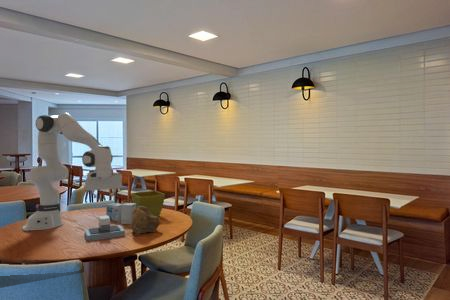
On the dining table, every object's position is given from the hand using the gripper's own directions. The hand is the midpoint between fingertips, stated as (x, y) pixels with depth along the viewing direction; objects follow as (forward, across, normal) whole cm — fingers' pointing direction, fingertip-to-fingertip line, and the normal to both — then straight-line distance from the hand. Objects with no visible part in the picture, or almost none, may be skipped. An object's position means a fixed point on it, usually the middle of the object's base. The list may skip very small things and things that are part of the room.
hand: (103, 197), depth 188 cm
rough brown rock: (+22, -23, +4) cm, 32 cm away
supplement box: (+22, -19, -22) cm, 37 cm away
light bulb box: (+23, -13, -36) cm, 44 cm away
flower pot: (+22, -35, -33) cm, 53 cm away
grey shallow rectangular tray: (+22, 0, 0) cm, 22 cm away
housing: (+19, 0, 0) cm, 19 cm away
